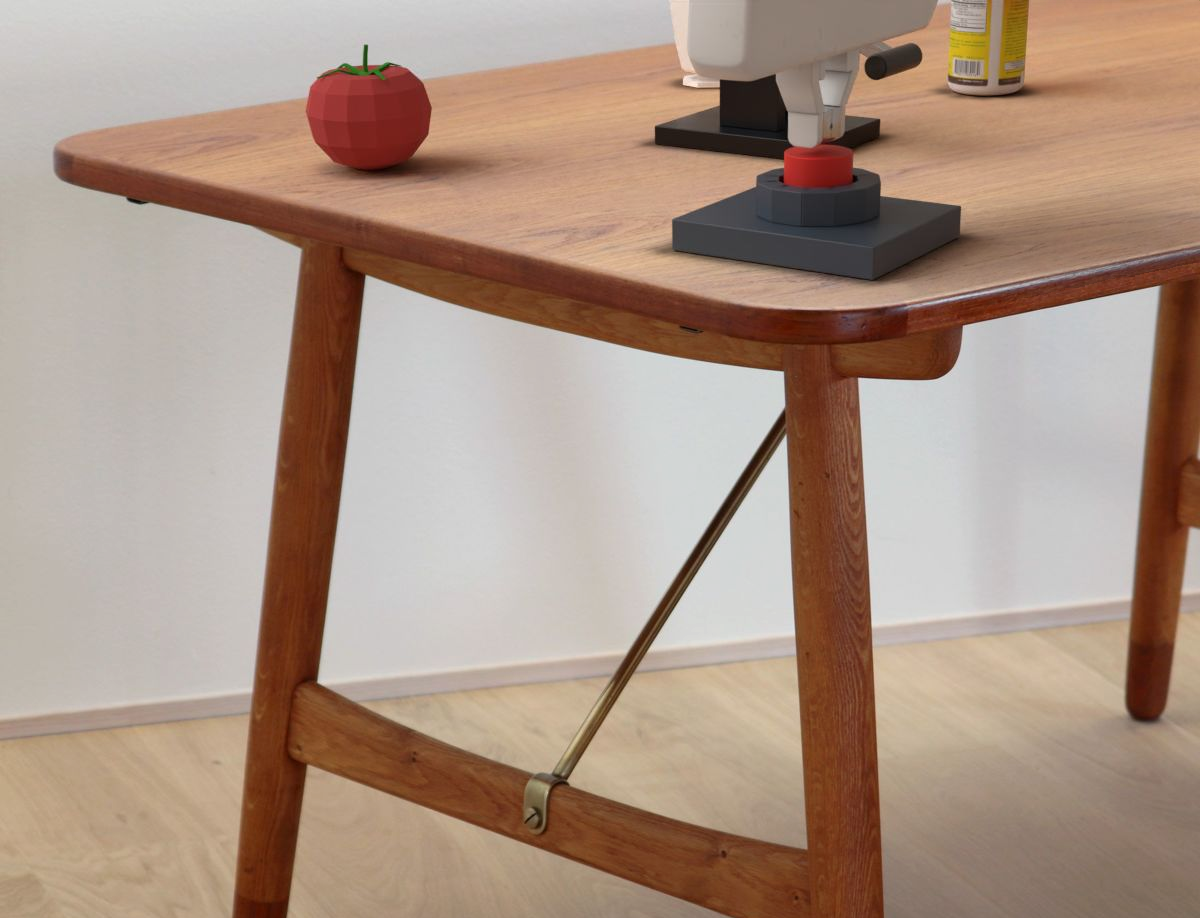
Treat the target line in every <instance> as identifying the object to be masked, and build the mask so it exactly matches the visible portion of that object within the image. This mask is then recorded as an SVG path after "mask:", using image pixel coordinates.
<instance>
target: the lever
mask: <svg viewBox="0 0 1200 918" xmlns="http://www.w3.org/2000/svg"><path fill="white" fill-rule="evenodd" d="M860 55H863V56H864V57H866V60H865V62H864V66H863V67H864V72H865V74H866V76H867V77H868V78H869V79H871V80H872V81H879V80H880V81H881V80H883V79H886V78H889V77H891V76H892V77H893V76H894V75H898V74H901V73H904V72H906V71H909V70H912V69H915V68H917V67H918V66H920V64H921V63H922V61H923V51H922V49H921V47H920V46H919V45H918V44H917V43H914V42H908V43H905V44H902V45H899V46H896V47H892V46H890V45H889V44H887V43H885V42H884V41H882V42H879V43H876V44H872V45H869V46H866V47H863V48H860Z"/></svg>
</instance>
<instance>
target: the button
mask: <svg viewBox="0 0 1200 918" xmlns="http://www.w3.org/2000/svg"><path fill="white" fill-rule="evenodd" d="M783 168H784V184H787V185H792V186H800V187H808V188H809V187H836V186H843V185H849V184H852V180H853V168H854V150H853V149H851V148H846V147H842V146H836V145H819V146H817V147H814V148H804V147H792V148H789V149H787V150H785V152H784V159H783Z"/></svg>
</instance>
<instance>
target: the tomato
mask: <svg viewBox="0 0 1200 918" xmlns="http://www.w3.org/2000/svg"><path fill="white" fill-rule="evenodd" d="M368 53H369V44H367V43H366V44H365V43H364V44H363V49H362V65H351V64H350V63H347V62H343V63H341V64H340V65H338V67H336V68H333V69H329V70H326V71H325V72H322V73H321V74H320V75H319V76H317V77H316V79H315V81H314V82H313V83H312V84H311V85H310V86H309V91H308V96H307V101H306V105H305V106H306V107H305V114H306V118H307V122H308V124H309V128H310V131H311V136H312V139H313V140H314V143H315V144H316V145H317V146H318V147H319V148H320V149H321V150H322V151H323V153H324V154H326V155H327V156H328V157H329V159H330V160H331V161H332V162H333V163H336V164H339V165H343V166H347V167H350V168H354V169H359V170H364V171H376V170H382V169H386V168H389V167H392V166H395V165H398V164H401V163H403V162H405V161H406V162H407V161H408V160H409V159H411V158H412V157H413V156H414V155H415V154H416V152H417V151H418V150H419V148H420V147H421V146H422V144H423V143H424V142H425V140H426V138H427V137H428V136H429V133H430V125H431V117H432V111H433V107H432V104H431V101H430V98H429V95H428V93H427V90H426V87H425V84H424V82H423V81H422V80H421V78H420V77H418V76H417V75H416V74H414V73H413V72H412V71H411V70H410V69H409V68H407V67H403V66H402V65H400V64H397V63H393V62H389V61H388V62H384V63H383V64H368V61H369V59H368V58H369V57H368Z"/></svg>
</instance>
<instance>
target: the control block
mask: <svg viewBox="0 0 1200 918" xmlns="http://www.w3.org/2000/svg"><path fill="white" fill-rule="evenodd" d="M881 191H882V181H881V176H880V174H879V173H875V172H872V171H869V170H867V169H865V168H861V167H853V180H852V184H849V185H843V186H836V187H809V188H808V187H800V186H792V185H787V184H784V167H780V168H774V169H773V168H772V169H771V170H768V171H765V172H763V173H759V174H757V175H756V181H755V186H754V187H752V188H749V189H746V190H744V191H741V192H739V193H736V194H734V195H731V196H728V197H726V198H723V199H720V200H718V201H715V202H712V203H710V204H707V205H705V206H702V207H700V208H697V209H695V210H692V211H689V212H688V213H685V214H681V215H680V216H679V215H678V216H677V217H674V218H672V219H671V248H672V251H677V252H684V253H690V254H697V255H703V256H711V257H717V258H724V259H728V260H729V259H730V260H736V261H743V262H750V263H756V264H763V265H770V266H776V267H784V268H790V269H798V270H803V271H809V272H815V273H816V272H817V273H824V274H829V275H837V276H843V277H848V278H849V277H851V278H857V279H861V280H862V279H863V280H864V279H865V280H870V281H874V280H877V278H880V277H882V276H884V275H886V274H888V273H890V272H892V271H894V270H896V269H898V268H900V267H902V266H903V265H906V264H907V263H910V262H911V261H914V260H916V259H919V258H920V257H922V256H923V255H926V254H928V253H929V252H932V251H935V250H936V249H938V248H940V247H941V246H944V245H946V244H947V243H949V242H952V241H954V240H956V239H957V238H960V235H961V220H962V219H961V218H962V206H961V205H956V204H950V203H949V204H948V203H940V202H933V201H926V200H925V201H924V200H916V199H909V198H900V197H891V196H885V195H884V196H883V195H882V194H881Z"/></svg>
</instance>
